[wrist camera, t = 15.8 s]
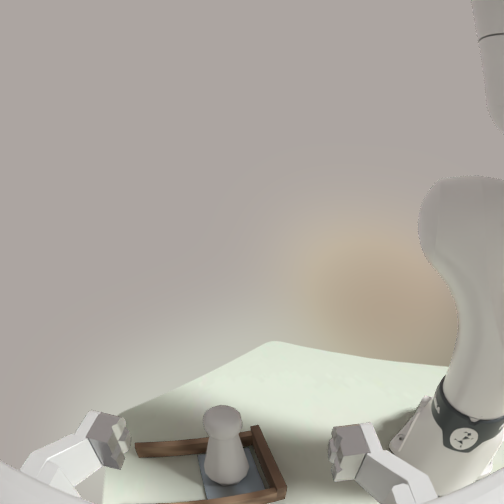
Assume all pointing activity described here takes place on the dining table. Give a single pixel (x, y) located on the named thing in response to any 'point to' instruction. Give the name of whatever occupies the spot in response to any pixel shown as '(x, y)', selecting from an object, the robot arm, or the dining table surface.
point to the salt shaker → (224, 446)
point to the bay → (234, 496)
